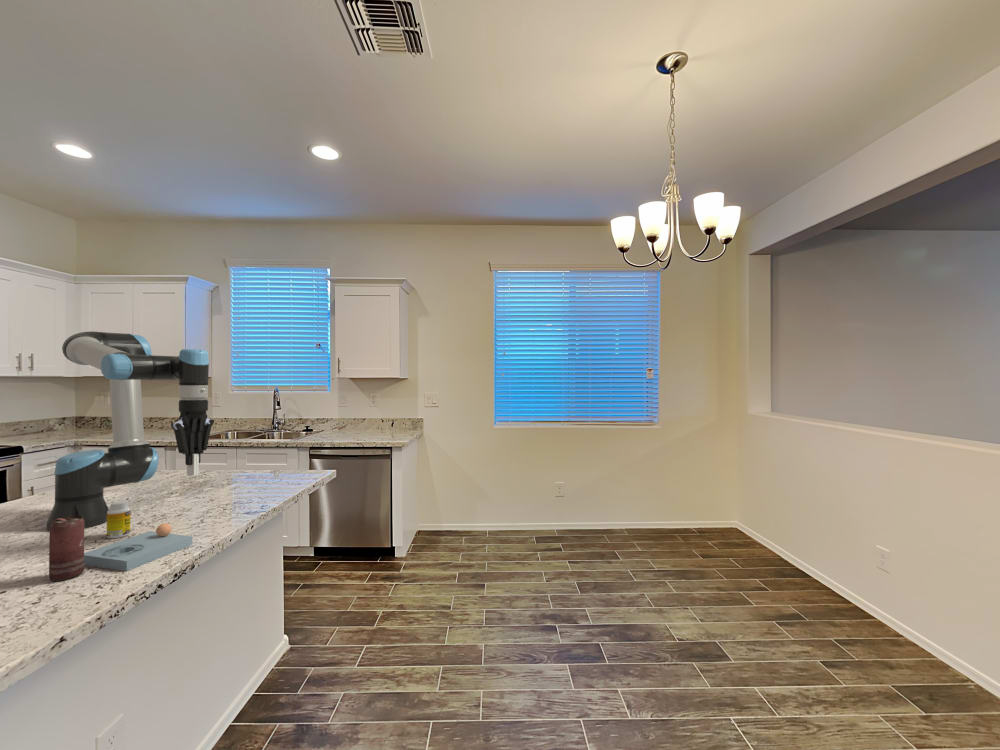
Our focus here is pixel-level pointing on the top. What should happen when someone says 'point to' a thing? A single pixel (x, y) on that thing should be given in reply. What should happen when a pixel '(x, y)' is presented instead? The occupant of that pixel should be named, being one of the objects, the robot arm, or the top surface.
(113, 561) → the board
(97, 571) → the top surface
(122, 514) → the supplement bottle
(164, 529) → the ball
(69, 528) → the can
